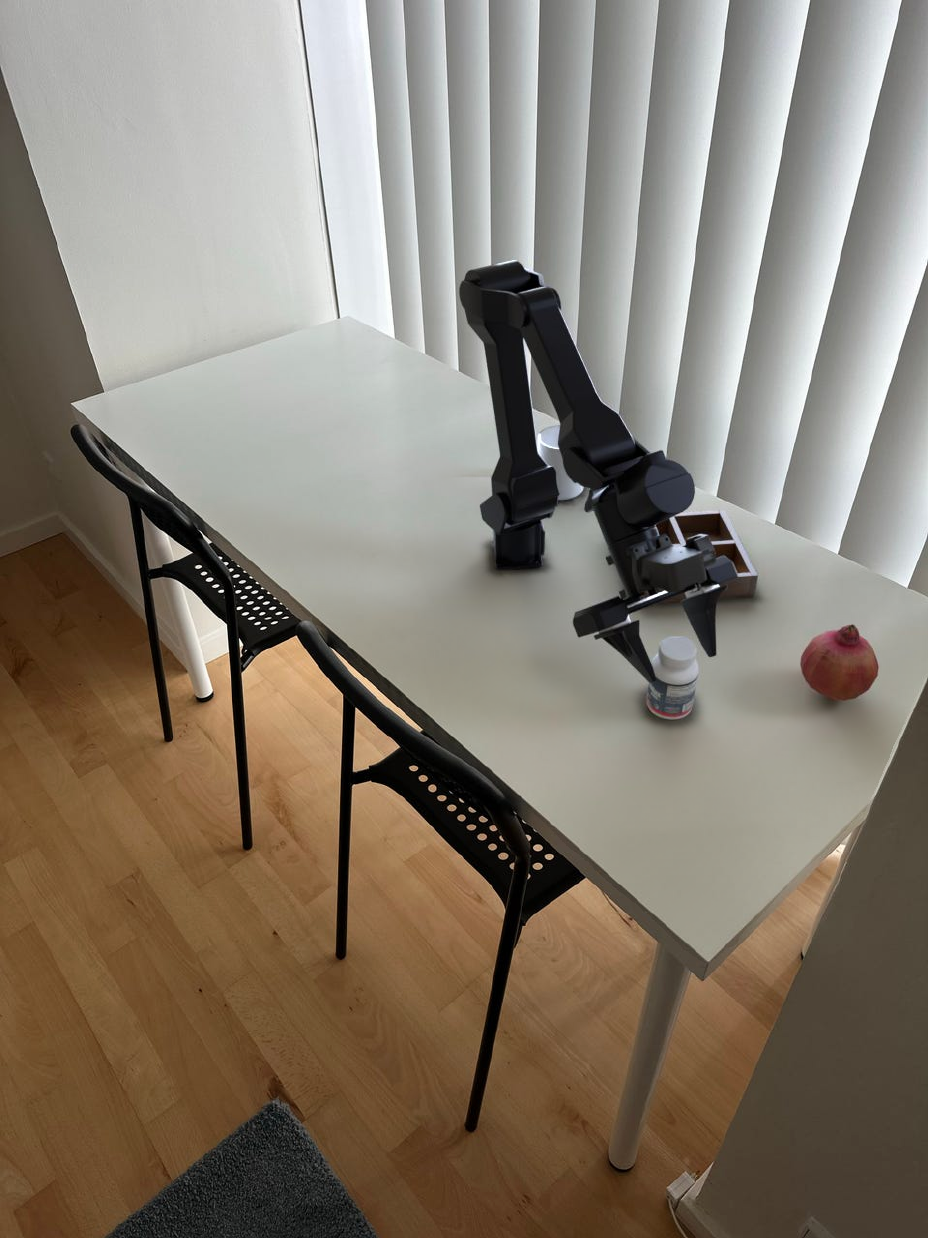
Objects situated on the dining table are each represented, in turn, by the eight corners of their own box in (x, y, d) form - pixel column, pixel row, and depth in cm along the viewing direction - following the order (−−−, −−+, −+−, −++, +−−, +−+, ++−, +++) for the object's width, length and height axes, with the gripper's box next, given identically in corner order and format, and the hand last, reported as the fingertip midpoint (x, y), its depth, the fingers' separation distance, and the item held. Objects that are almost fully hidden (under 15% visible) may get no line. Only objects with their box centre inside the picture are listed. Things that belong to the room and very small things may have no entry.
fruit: (787, 668, 113) (804, 603, 107) (856, 668, 113) (876, 603, 106) (803, 717, 107) (822, 651, 101) (876, 717, 107) (899, 651, 100)
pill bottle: (641, 690, 111) (648, 633, 105) (685, 686, 111) (694, 629, 106) (652, 723, 107) (660, 665, 101) (697, 719, 107) (708, 661, 102)
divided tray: (637, 605, 123) (639, 583, 121) (614, 537, 135) (615, 517, 133) (753, 596, 124) (758, 575, 122) (720, 530, 136) (724, 509, 133)
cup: (528, 483, 147) (529, 431, 141) (585, 468, 150) (588, 417, 144) (550, 505, 142) (552, 453, 136) (608, 489, 145) (612, 437, 139)
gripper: (593, 545, 94) (650, 693, 93) (740, 493, 100) (794, 630, 100) (549, 568, 104) (600, 701, 104) (684, 519, 111) (733, 644, 110)
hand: (683, 669), depth 104 cm, fingers open, 8 cm apart
